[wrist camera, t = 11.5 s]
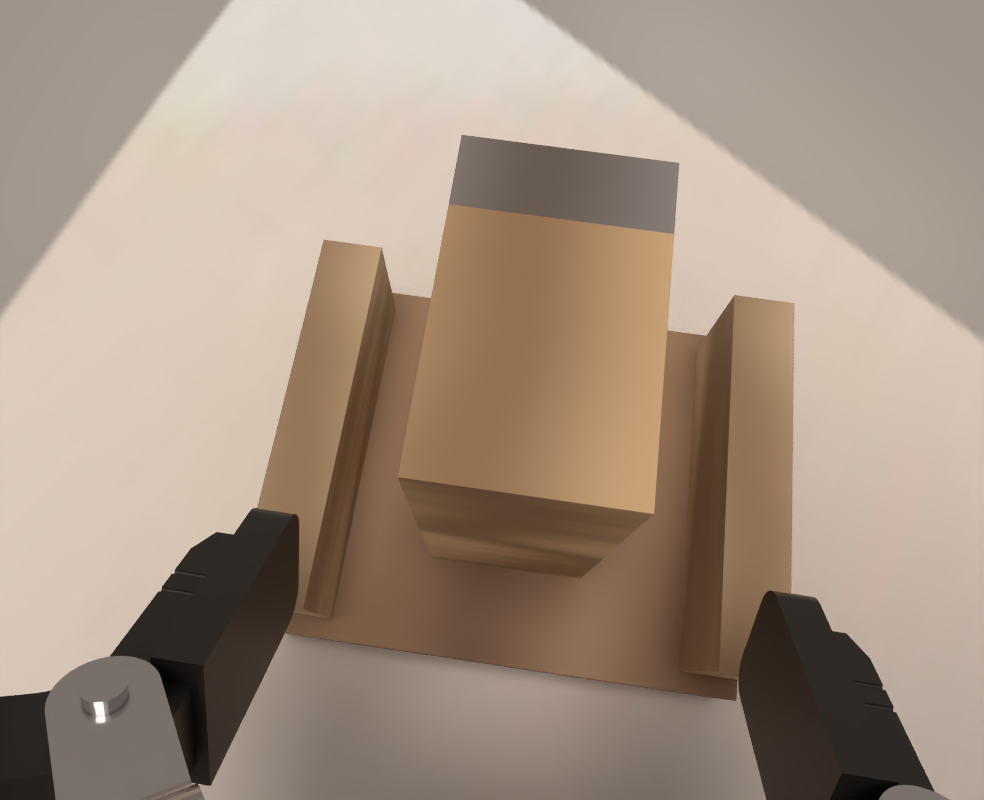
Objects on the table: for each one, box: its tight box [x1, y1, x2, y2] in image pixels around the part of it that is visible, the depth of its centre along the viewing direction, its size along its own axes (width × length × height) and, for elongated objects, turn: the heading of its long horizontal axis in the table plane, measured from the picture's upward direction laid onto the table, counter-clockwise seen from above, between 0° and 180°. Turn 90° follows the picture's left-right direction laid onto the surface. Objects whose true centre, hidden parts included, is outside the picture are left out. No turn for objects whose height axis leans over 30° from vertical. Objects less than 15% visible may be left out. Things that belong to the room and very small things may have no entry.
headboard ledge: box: [257, 240, 794, 701], centre depth 20 cm, size 12×10×6 cm
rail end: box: [398, 135, 679, 579], centre depth 17 cm, size 4×6×9 cm, turn 172°
